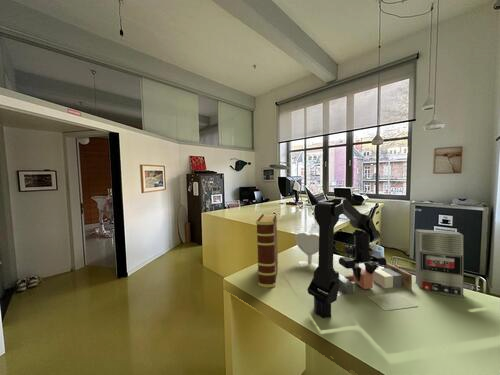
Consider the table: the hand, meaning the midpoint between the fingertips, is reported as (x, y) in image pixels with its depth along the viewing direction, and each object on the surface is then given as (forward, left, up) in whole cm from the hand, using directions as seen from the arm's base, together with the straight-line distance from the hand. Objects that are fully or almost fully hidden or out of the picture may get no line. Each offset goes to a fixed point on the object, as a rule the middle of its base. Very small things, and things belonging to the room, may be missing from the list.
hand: (362, 280), depth 88 cm
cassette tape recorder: (-8, -28, -4) cm, 30 cm away
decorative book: (+20, +37, -4) cm, 42 cm away
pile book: (-12, -3, -4) cm, 13 cm away
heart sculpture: (+29, +11, -4) cm, 31 cm away
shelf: (0, -2, -4) cm, 4 cm away
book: (0, -14, -3) cm, 14 cm away
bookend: (0, +11, -3) cm, 11 cm away
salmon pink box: (0, 0, -2) cm, 2 cm away
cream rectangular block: (0, -10, -3) cm, 10 cm away
